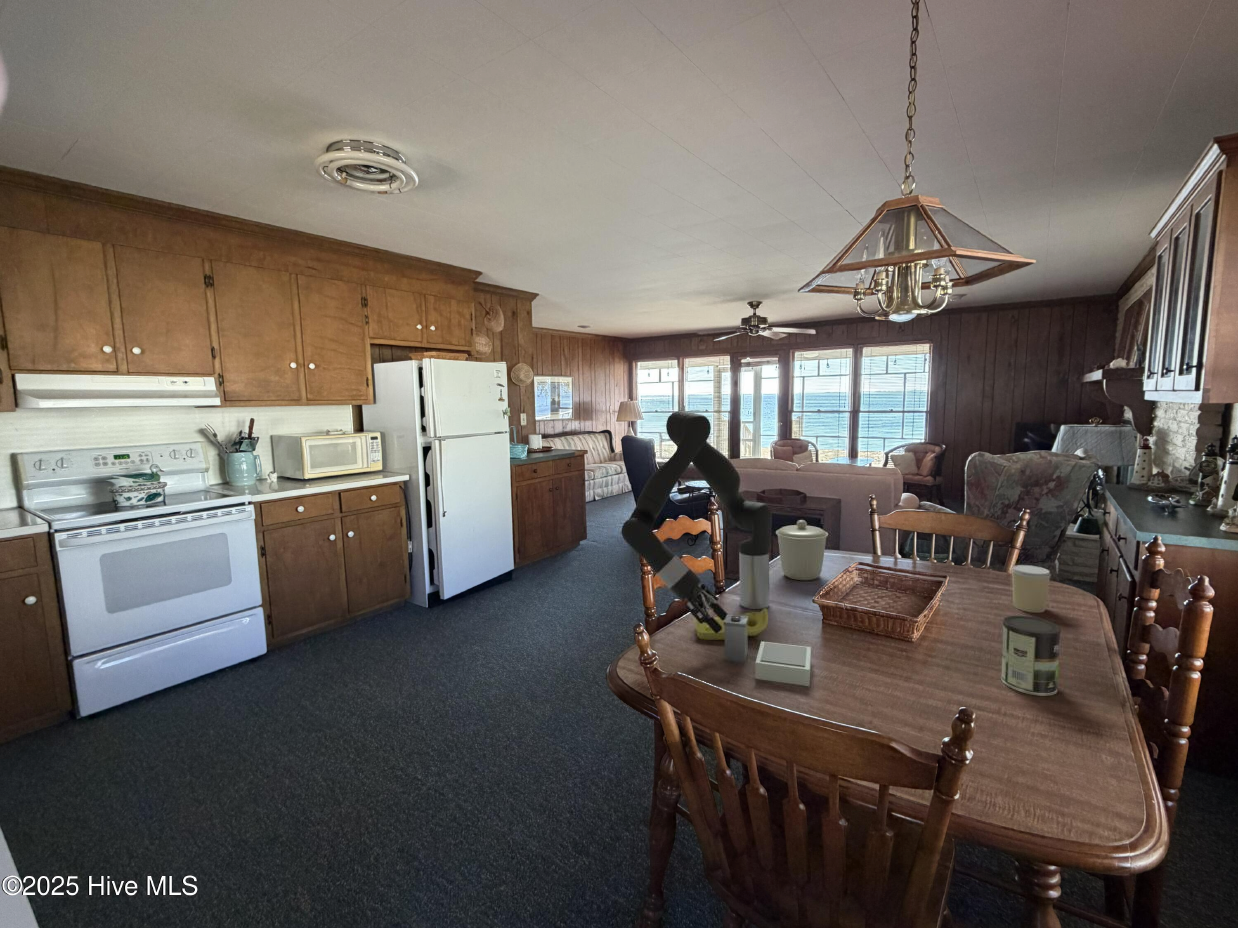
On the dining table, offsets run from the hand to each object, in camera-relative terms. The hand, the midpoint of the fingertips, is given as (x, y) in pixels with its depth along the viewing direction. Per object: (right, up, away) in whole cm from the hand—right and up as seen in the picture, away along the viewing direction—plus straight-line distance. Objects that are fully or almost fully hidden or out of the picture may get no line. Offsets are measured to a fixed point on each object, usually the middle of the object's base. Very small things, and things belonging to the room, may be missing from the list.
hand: (722, 624), depth 142 cm
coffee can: (+65, -8, -18) cm, 68 cm away
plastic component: (+5, -7, +13) cm, 16 cm away
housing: (+3, -8, 0) cm, 9 cm away
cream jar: (+97, -2, +25) cm, 101 cm away
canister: (+41, 0, +61) cm, 73 cm away
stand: (+13, -9, -8) cm, 18 cm away
